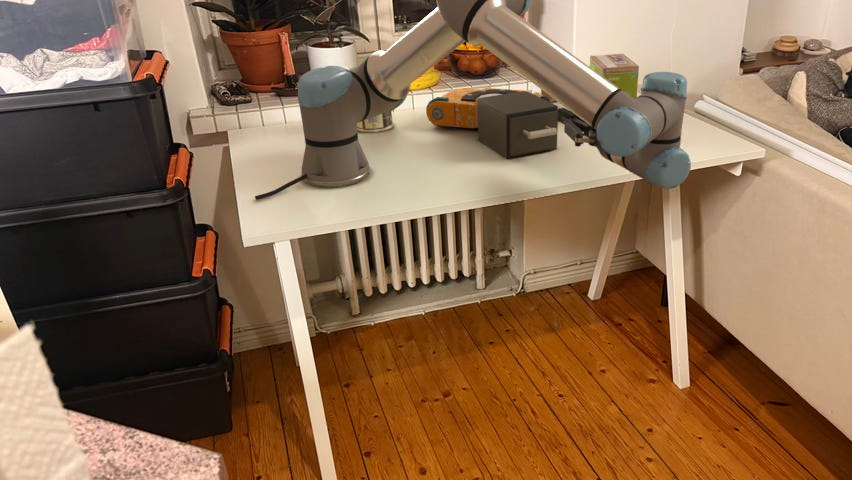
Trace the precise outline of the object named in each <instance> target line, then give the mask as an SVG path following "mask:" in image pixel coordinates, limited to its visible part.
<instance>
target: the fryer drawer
mask: <svg viewBox="0 0 852 480" xmlns="http://www.w3.org/2000/svg"><path fill="white" fill-rule="evenodd" d="M557 117H558V111H556V110H554V111H545V112H539V113H533V114H527V115H521V116H515V117H510V118H509V155H511V156H513V155H519V154H524V153H529V152H535V151H540V150H545V149H550V148H556V149H557V148H558V132H559V131H558V129H559V121H557Z"/></svg>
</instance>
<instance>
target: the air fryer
mask: <svg viewBox="0 0 852 480" xmlns="http://www.w3.org/2000/svg"><path fill="white" fill-rule="evenodd" d="M533 94H534V93H532V94H531V93H529V92H527V90H524V91H522V92H515V93H509V94H502V95H496V96H489V97H482V98H477V103H478V128H477V132H478V133H477V136H478V142H481V143H483V145H485V146H487V147H488V148H489V149H491V150H493V151H494V152H496V153H498V154H499V155H501V156H502V157H503V158H505V159H513V158H517V157H521V156H527V155H534V154H539V153H543V152H548V151H549V152H550V151H554V150H557V147H556V148H550V149H545V150H540V151H535V152H529V153H524V154H519V155H513V156H511V155H509V118H510V117H515V116H521V115H527V114H533V113H539V112H545V111H554V110H556V111H558V109H559V106H558V105H557V104H555V103H554V102H548V101H546V100H544V99H542V98H540V97H538V96H536V95H533Z"/></svg>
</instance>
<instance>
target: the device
mask: <svg viewBox="0 0 852 480" xmlns="http://www.w3.org/2000/svg"><path fill="white" fill-rule="evenodd" d="M522 91H525V90H522V89H508V88H506V89H505V88H494V87H493V88H492V87H485V88H469V87H468V88H466V87H464V88H457V89H453V90H450V91H449V92H447V93H444V94H442V95H441V96H437V97H434V98H433V99H431V100H430V101H428V103H427V105H426V107H425V110H426V111H425V113H426V116H427V119H428V121H429V122H430V123H432V125H433V126H436V127H440V128H450V127H453V128H464V129H465V128H466V129H478V103H477V98H482V97H489V96H496V95H502V94H509V93H515V92H522ZM526 91H527V92H529V93H531V94H533V95H536V96H538V97H540V98H542V99H544V100H546V101H548V102H550V100H549V98H547V97H544V96H543V95H542V94H541V93H539V92H537V91H534V93H533V90H532V89H527V90H526ZM550 103H551V102H550Z"/></svg>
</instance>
